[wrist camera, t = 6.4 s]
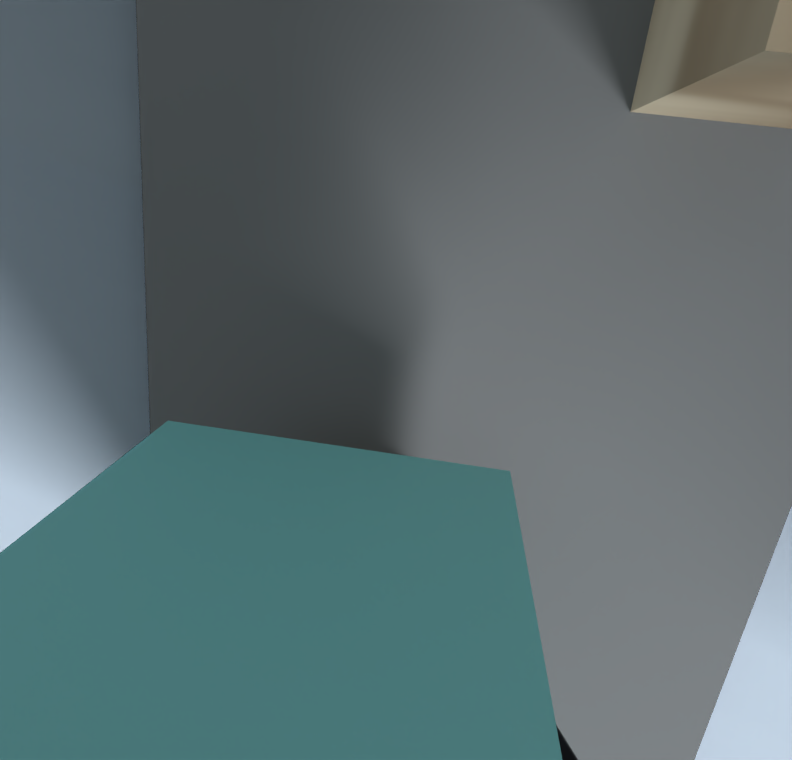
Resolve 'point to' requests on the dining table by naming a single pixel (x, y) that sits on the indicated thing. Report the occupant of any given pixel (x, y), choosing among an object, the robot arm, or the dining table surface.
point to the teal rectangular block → (274, 610)
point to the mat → (491, 302)
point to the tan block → (718, 62)
